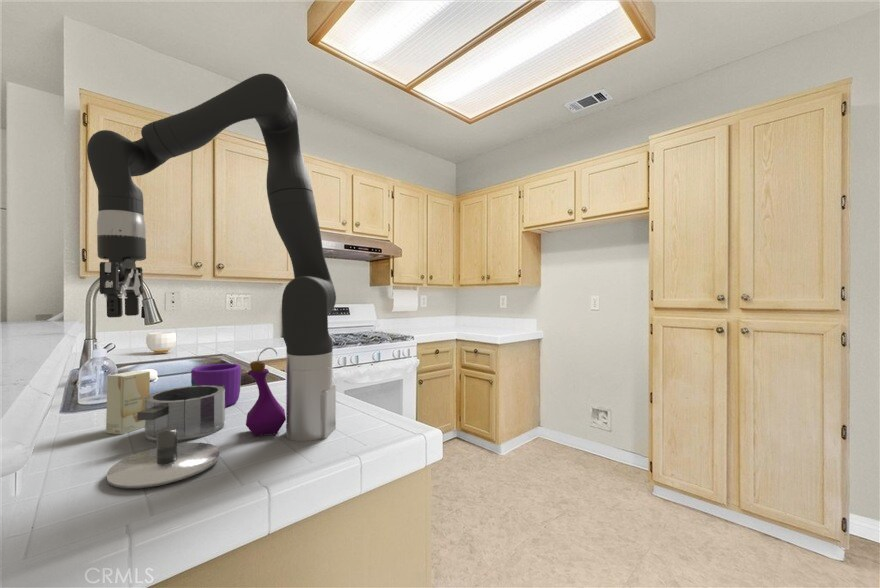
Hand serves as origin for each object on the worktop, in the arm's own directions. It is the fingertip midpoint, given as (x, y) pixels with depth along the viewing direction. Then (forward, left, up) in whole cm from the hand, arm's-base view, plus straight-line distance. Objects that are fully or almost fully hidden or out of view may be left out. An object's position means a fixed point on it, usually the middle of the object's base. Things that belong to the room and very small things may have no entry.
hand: (123, 316), depth 76 cm
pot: (-9, -6, -25) cm, 27 cm away
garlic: (+39, -51, -25) cm, 69 cm away
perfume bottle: (-27, -6, -25) cm, 37 cm away
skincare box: (+4, -6, -25) cm, 26 cm away
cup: (+83, -112, -25) cm, 141 cm away
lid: (-19, +12, -25) cm, 34 cm away
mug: (-1, -26, -25) cm, 36 cm away
